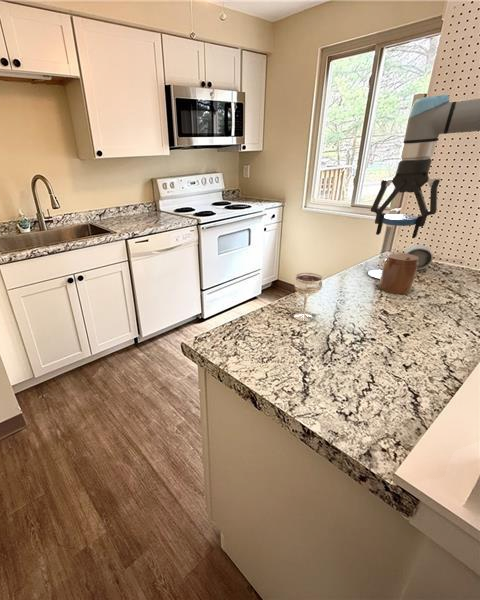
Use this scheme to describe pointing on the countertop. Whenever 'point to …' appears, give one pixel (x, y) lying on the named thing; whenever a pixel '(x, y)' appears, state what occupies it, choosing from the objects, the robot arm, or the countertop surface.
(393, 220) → the jar lid
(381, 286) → the jam jar
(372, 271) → the coaster
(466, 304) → the countertop surface
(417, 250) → the ceramic mug
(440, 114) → the robot arm
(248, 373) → the countertop surface
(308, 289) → the wineglass
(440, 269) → the countertop surface
